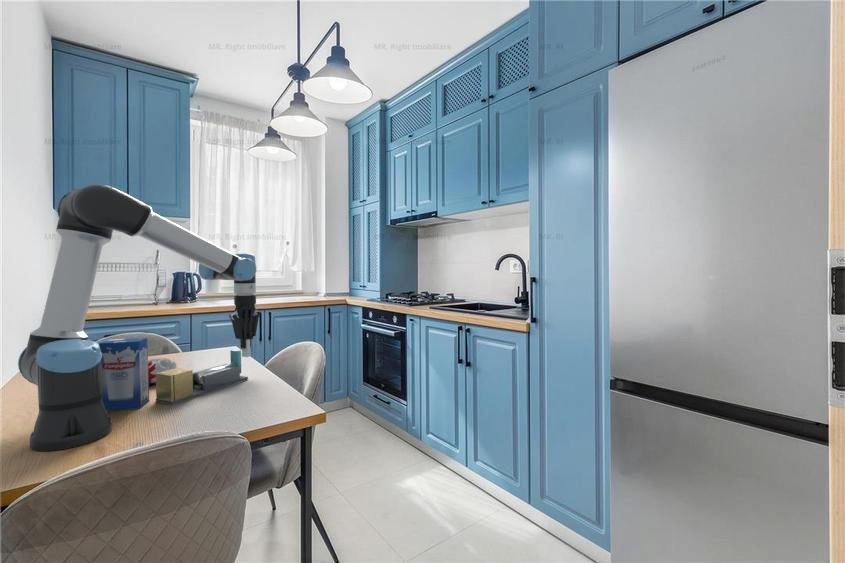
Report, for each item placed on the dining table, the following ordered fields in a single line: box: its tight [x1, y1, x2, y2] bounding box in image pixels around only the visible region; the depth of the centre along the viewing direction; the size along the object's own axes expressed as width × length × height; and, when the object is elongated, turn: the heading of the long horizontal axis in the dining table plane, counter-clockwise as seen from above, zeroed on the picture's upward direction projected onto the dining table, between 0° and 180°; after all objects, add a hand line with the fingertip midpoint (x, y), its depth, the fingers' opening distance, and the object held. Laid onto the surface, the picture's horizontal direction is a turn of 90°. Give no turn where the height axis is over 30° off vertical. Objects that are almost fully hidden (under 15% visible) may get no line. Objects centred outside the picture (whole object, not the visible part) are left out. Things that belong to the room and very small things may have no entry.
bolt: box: [195, 349, 242, 384], centre depth 138 cm, size 16×4×8 cm, turn 157°
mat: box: [155, 375, 249, 406], centre depth 133 cm, size 29×8×1 cm, turn 157°
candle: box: [148, 357, 178, 386], centre depth 139 cm, size 9×11×15 cm
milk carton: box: [98, 337, 150, 412], centre depth 117 cm, size 10×6×20 cm, turn 105°
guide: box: [155, 363, 241, 402], centre depth 131 cm, size 25×7×8 cm, turn 157°
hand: (246, 356), depth 149 cm, fingers closed
